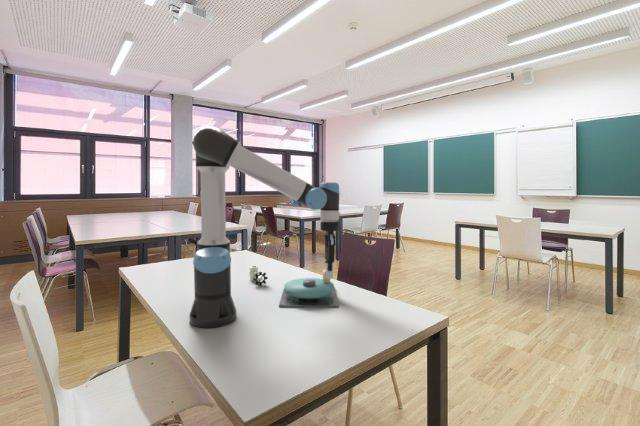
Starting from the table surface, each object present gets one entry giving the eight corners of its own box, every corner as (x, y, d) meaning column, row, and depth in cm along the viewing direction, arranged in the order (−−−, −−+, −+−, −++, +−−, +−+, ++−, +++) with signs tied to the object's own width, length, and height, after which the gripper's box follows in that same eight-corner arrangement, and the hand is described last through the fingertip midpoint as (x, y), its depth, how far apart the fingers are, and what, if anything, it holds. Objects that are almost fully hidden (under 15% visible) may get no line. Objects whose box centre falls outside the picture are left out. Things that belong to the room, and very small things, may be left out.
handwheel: (296, 301, 122) (296, 283, 121) (277, 286, 139) (277, 270, 138) (343, 293, 131) (343, 276, 130) (319, 280, 148) (319, 264, 148)
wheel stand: (338, 307, 124) (338, 300, 124) (279, 307, 124) (279, 300, 124) (334, 288, 146) (334, 282, 146) (284, 288, 146) (284, 282, 146)
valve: (245, 280, 158) (253, 287, 148) (245, 266, 158) (253, 272, 147) (259, 278, 161) (267, 285, 151) (259, 265, 161) (267, 270, 150)
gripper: (342, 222, 129) (341, 282, 131) (335, 219, 142) (335, 273, 143) (322, 222, 128) (322, 282, 129) (318, 219, 140) (318, 274, 142)
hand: (329, 278), depth 136 cm, fingers closed
